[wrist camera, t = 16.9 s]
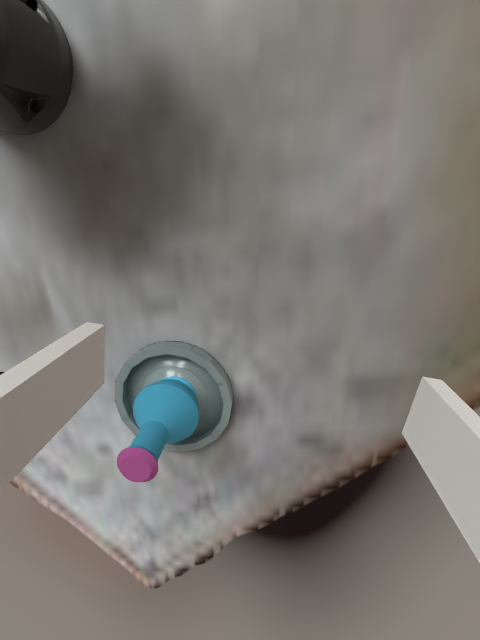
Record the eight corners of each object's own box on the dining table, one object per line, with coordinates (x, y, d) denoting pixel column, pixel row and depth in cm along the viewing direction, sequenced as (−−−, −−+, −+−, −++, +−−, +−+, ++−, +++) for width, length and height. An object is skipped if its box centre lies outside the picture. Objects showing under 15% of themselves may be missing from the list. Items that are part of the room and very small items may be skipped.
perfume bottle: (189, 432, 51) (156, 515, 37) (136, 405, 50) (82, 479, 36) (215, 387, 48) (191, 458, 34) (160, 357, 47) (111, 417, 33)
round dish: (119, 429, 53) (112, 438, 51) (124, 331, 48) (117, 336, 45) (224, 451, 52) (221, 461, 50) (241, 353, 47) (239, 359, 45)
